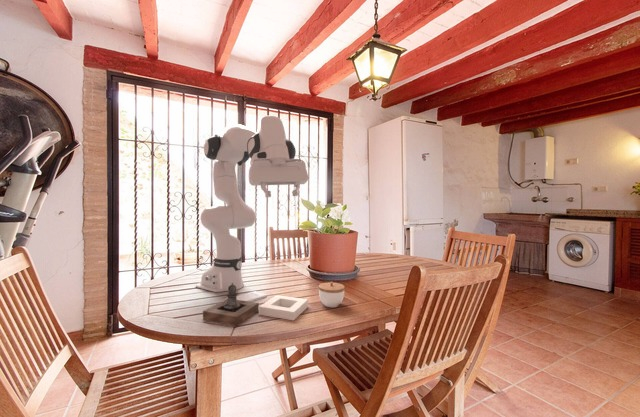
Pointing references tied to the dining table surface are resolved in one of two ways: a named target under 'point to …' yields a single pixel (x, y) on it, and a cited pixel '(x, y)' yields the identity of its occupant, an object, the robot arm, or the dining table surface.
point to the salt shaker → (232, 300)
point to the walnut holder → (227, 317)
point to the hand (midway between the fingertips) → (282, 196)
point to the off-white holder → (275, 309)
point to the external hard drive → (251, 296)
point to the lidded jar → (331, 294)
